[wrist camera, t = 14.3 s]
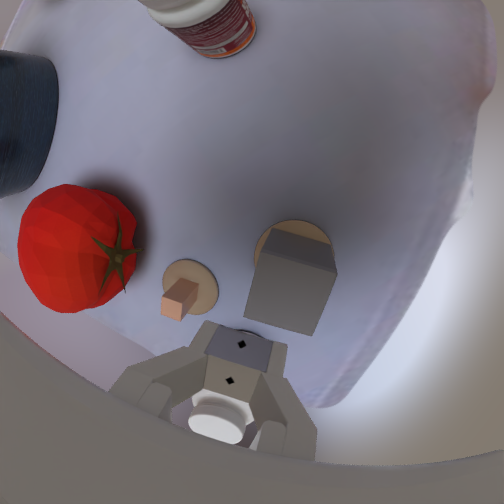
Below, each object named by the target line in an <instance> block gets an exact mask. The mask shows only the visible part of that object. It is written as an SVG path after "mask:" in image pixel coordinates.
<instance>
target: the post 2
mask: <svg viewBox="0 0 504 504" xmlns="http://www.w3.org/2000/svg"><path fill="white" fill-rule="evenodd" d="M272 228H276V229H279V230H283V231H286V232H290V233H293V234H297V235H300V236H304V237H307V238H311V239H314V240H317V241H321V242H324V243H327V244H331V243H330V240H329V239H328V237H327V236H326V235H325V233H324V232H323V231H322V230H321V229H319V228H318V227H316V226H315V225H313V224H311V223H309V222H306V221H301V220H286V221H282V222H279V223H277V224H275V225H273V226H272V227H270V228H269V229H268V230H266V231H265V233H264V234H263V235H262V236H261V238H260V239H259V241H258V243H257V246H256V249H255V254H254V263H255V268H256V266H257V262H258V258H259V254H260V251H261V249H262V247H263V245H264V243H265V241H266V239H267V237H268V235H269V233H270V231H271V229H272ZM331 248H332V245H331ZM332 252H333V248H332ZM333 256H334V252H333Z"/></svg>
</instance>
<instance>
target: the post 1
mask: <svg viewBox="0 0 504 504" xmlns="http://www.w3.org/2000/svg"><path fill="white" fill-rule="evenodd" d="M163 289H164V292H165V294H164V295H163V296H162V302H161V314H162V315H164V316H167V317H169V318H172V319H174V320H177V321H180V322H181V320H182V319H183V318H184V316H185V315H186V314H187V313H188V314H192V315H200V314H204V313H206V312H208V311H209V310H211V309H212V308H213V306H214V305H215V303H216V301H217V299H218V294H219V289H218V284H217V281H216V279H215V277H214V275H213V274H212V273H211V271H210V270H209V269H208V268H207V267H205V266H204V265H203V264H201V263H199V262H197V261H194V260H189V259H182V260H178V261H176V262H174V263H172V264H171V265H170V266H169V267H168V268H167V269H166V271H165V273H164V275H163Z"/></svg>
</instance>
